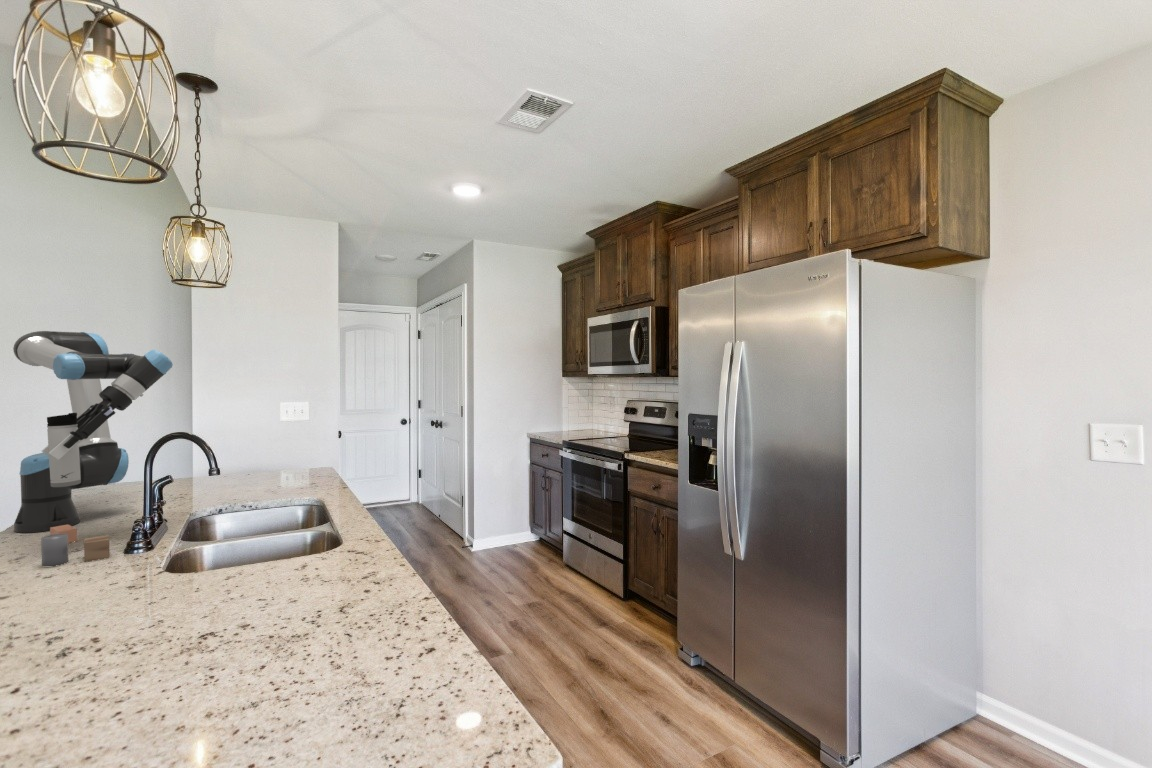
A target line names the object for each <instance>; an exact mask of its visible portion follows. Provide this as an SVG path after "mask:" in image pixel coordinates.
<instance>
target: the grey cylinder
mask: <svg viewBox="0 0 1152 768" xmlns="http://www.w3.org/2000/svg"><path fill="white" fill-rule="evenodd" d="M40 541H41V542H40V545H41V549H40V550H41V567H42V566H53V567H57V566H56V565H59V566H62V565H61V564H63V565H65V564H64V563H66V564H67V562H68V563H69V543H68V534H55V535H50V534H49V535H45V536H42V537H41V538H40Z"/></svg>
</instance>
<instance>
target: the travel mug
mask: <svg viewBox="0 0 1152 768" xmlns="http://www.w3.org/2000/svg"><path fill="white" fill-rule="evenodd" d="M46 422H47V423H46V427H47V428H46V429H47V446H48V449H49V452H50V451H52V450H53V449H54V448H55V447H56V446H57V445H59V444H60V443H61V442H62V441H63V440H64V439H65V438H67V437H68V436H69V435H72V434H70V432H72V431H74V432H75V431H76V430H77V429H78V427H77V426H78V424H77V413H73V412H68V414H61V415H53V416H47V417H46ZM72 436H73V435H72ZM49 465H50V480H51V487H66V486H73V485H77V484H80V483H81V478H80V477H81V475H80V457H79V442H78V443H77V444H76V445H75V446H74V447H73V448H71V449H70V450H69V451H68V452H67V453H66V454H65V455H63V456H62V457H61V458H60V459H59V460H58V459H57V458H55V457H53V456H52V455H50V454H49Z"/></svg>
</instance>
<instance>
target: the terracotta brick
mask: <svg viewBox="0 0 1152 768" xmlns="http://www.w3.org/2000/svg"><path fill="white" fill-rule="evenodd" d="M49 531H50V533H49V535H55V534H68V544H70V543H69V542H74V541H77V542H78V529H77V527H74V526H73V525H72V526H70V525H68V524H67V525H62V526H56V527H50V530H49ZM74 543H75V542H74Z"/></svg>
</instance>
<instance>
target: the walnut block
mask: <svg viewBox="0 0 1152 768" xmlns="http://www.w3.org/2000/svg"><path fill="white" fill-rule="evenodd" d="M83 551H84V554H83V555H84V563H87V562H86V561H88V562H93V561H92V560H94V561H99V560H98V559H100V560H105V559H104V558H106V559H110V558H109V557H111V556H110V554H111V552H110V535H109V534H108V535H100V536H95V537H89V538H84V541H83Z"/></svg>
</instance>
